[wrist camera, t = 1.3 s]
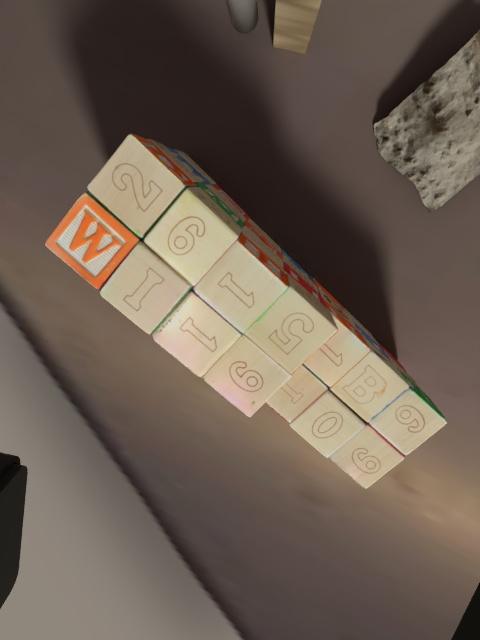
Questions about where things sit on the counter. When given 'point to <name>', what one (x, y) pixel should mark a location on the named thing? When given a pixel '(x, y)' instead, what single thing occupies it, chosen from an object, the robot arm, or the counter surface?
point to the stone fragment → (438, 129)
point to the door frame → (294, 23)
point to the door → (243, 14)
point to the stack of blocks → (240, 309)
